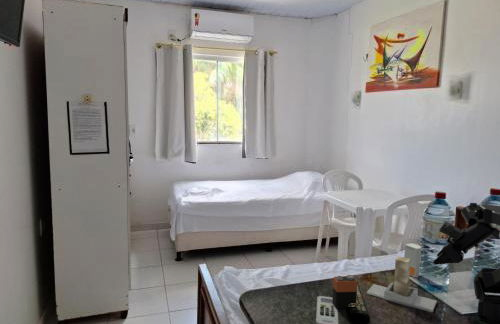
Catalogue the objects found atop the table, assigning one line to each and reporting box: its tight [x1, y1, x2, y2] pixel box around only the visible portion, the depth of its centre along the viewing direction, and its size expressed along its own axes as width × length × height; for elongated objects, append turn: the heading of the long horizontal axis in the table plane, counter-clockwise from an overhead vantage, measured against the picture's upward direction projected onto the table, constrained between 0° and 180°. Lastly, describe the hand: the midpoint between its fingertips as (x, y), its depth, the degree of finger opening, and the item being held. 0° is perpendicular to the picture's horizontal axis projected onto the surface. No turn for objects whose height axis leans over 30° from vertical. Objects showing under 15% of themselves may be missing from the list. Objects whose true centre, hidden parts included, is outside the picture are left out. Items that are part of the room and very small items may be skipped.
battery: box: [331, 274, 358, 309], centre depth 116 cm, size 4×7×10 cm, turn 95°
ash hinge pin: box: [393, 256, 411, 296], centre depth 122 cm, size 4×4×14 cm
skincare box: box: [403, 243, 422, 278], centre depth 143 cm, size 6×4×12 cm
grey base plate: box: [366, 281, 437, 313], centre depth 122 cm, size 21×9×3 cm, turn 54°
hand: (435, 259), depth 125 cm, fingers open, 9 cm apart
